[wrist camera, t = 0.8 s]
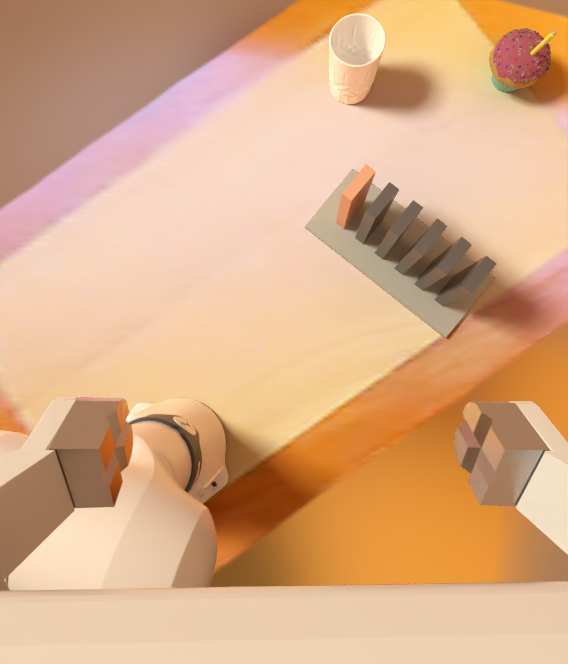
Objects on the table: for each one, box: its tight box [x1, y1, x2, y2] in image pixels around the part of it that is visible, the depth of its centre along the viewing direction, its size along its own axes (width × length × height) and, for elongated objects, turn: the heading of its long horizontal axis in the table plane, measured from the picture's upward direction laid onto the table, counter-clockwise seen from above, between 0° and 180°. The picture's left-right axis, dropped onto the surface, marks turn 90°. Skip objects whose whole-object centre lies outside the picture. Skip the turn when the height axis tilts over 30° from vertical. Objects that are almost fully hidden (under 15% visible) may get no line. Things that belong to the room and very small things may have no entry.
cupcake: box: [489, 28, 558, 92], centre depth 63 cm, size 9×8×12 cm
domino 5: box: [414, 237, 471, 290], centre depth 61 cm, size 5×2×12 cm, turn 140°
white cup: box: [329, 14, 386, 104], centre depth 65 cm, size 8×8×10 cm
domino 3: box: [375, 200, 423, 259], centre depth 62 cm, size 5×2×12 cm, turn 141°
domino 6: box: [434, 256, 496, 306], centre depth 61 cm, size 5×2×12 cm, turn 141°
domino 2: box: [355, 182, 399, 244], centre depth 62 cm, size 5×2×12 cm, turn 140°
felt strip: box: [305, 169, 495, 338], centre depth 68 cm, size 12×28×1 cm, turn 51°
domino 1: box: [336, 165, 376, 229], centre depth 62 cm, size 5×2×12 cm, turn 140°
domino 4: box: [394, 219, 447, 275], centre depth 61 cm, size 5×2×12 cm, turn 141°
